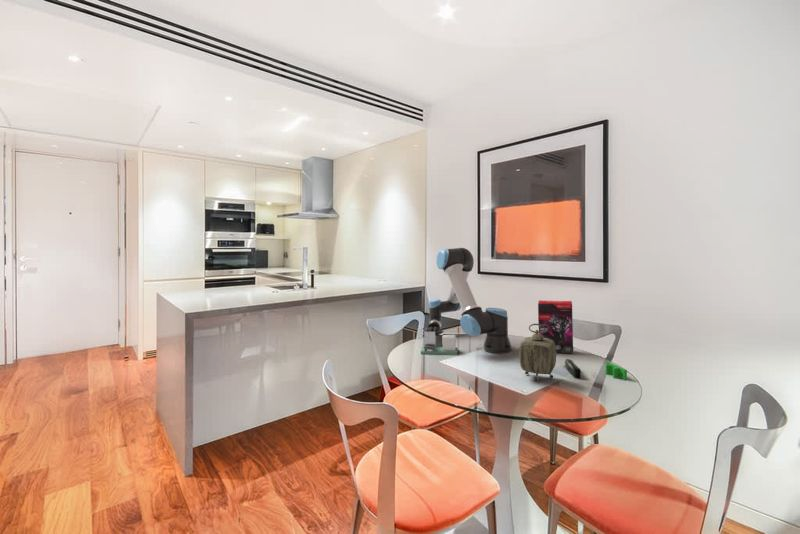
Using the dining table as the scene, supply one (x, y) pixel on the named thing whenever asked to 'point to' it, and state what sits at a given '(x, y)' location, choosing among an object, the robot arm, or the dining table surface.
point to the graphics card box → (557, 323)
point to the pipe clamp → (616, 371)
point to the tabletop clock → (537, 354)
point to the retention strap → (429, 339)
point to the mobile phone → (572, 368)
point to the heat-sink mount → (447, 344)
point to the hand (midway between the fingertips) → (430, 337)
